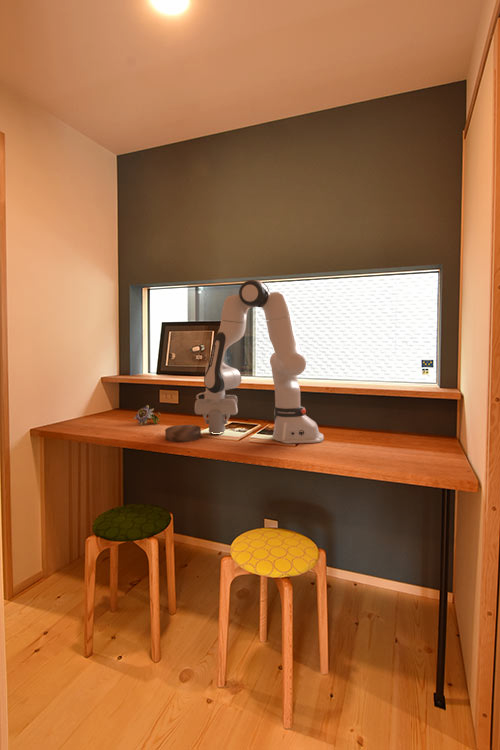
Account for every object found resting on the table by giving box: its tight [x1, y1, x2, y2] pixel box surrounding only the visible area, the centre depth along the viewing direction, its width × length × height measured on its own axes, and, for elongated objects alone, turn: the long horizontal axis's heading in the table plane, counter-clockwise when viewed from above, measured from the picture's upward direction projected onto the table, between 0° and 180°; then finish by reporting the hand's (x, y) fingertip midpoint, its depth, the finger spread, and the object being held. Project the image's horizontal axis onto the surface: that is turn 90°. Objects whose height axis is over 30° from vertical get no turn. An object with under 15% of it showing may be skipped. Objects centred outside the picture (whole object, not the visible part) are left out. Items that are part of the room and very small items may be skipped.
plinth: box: [164, 424, 202, 443], centre depth 185 cm, size 16×16×4 cm
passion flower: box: [133, 404, 161, 426], centre depth 216 cm, size 11×11×12 cm
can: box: [207, 410, 226, 433], centre depth 190 cm, size 8×8×12 cm
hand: (216, 423), depth 191 cm, fingers closed on can, 7 cm apart
